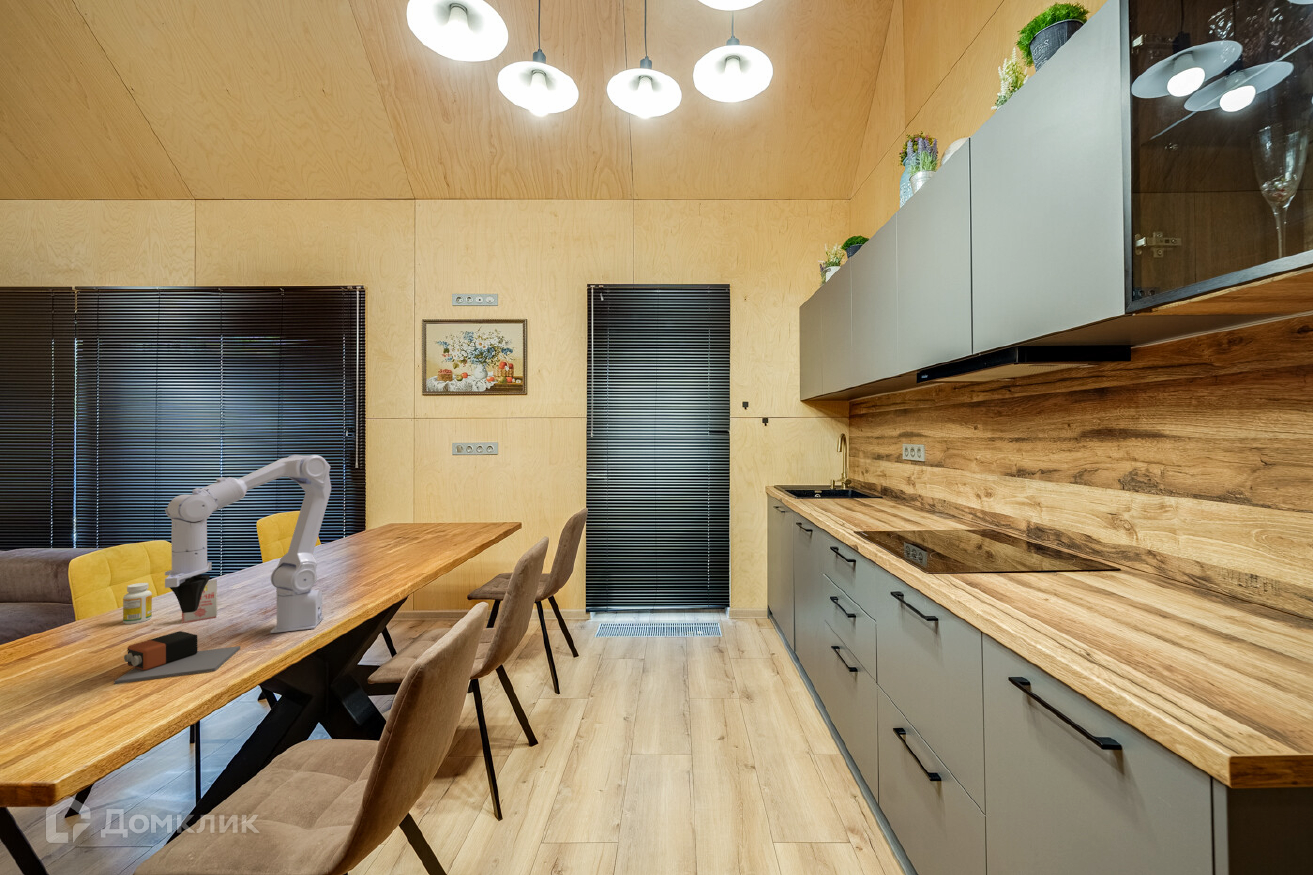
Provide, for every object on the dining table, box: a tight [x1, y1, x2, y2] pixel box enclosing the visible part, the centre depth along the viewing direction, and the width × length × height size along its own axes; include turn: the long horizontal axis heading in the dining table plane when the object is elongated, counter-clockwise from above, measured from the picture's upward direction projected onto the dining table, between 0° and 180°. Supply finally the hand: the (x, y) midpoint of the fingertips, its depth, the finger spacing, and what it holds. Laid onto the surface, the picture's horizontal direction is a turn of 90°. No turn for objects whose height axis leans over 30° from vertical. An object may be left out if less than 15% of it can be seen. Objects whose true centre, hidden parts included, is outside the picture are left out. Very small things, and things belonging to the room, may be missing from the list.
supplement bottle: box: [122, 582, 153, 625], centre depth 134 cm, size 5×5×10 cm
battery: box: [123, 630, 198, 670], centre depth 108 cm, size 4×7×10 cm
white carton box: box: [181, 579, 218, 624], centre depth 136 cm, size 4×7×10 cm, turn 127°
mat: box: [113, 645, 241, 685], centre depth 107 cm, size 16×12×1 cm
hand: (189, 611), depth 110 cm, fingers closed
